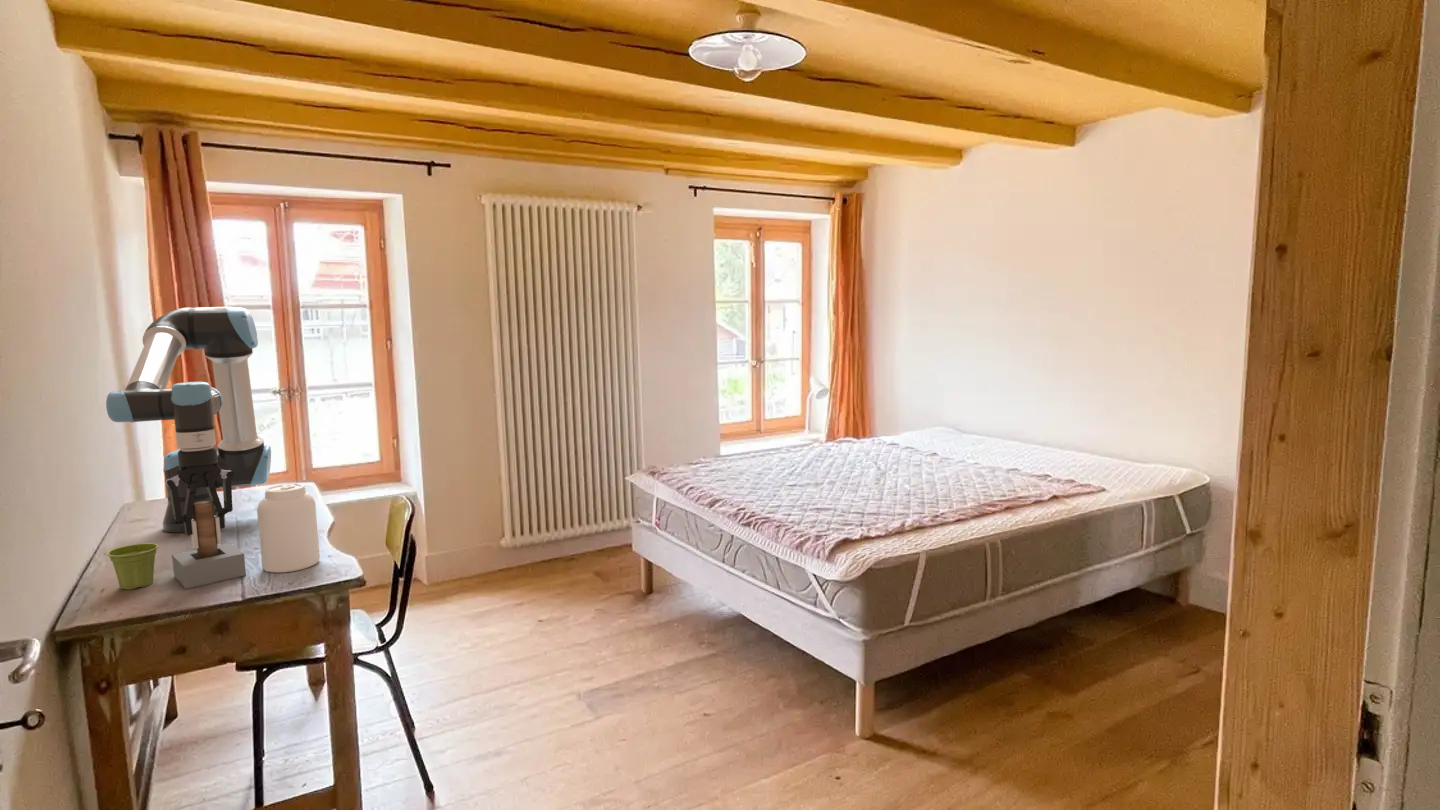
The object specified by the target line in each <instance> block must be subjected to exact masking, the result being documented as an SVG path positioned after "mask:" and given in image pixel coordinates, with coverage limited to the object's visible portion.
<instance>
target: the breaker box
mask: <svg viewBox="0 0 1440 810" xmlns="http://www.w3.org/2000/svg"><path fill="white" fill-rule="evenodd" d="M217 548H218V556H213V557H208V558H203V559H198V553H197V549H194V550H188V551H183V552H178V553H174V554H171V558H172V568H173V569H172V571H173V577H174V578H175V580H177V581H178V582H179V584H180V585H181V586H182V587H183V588H184V589H185V590H190V589H194V588H198V587H203V586H207V585H210V584H215V583H220V582H225V581H229V580H232V579H237V578H242V577H246V576H247V571H246V561H245V552H244V551H243V552H242V551H241V550H240V549H239V548H237V546H235V545H233V544H232V543H230V542H229V543H228V542H227V543H223V544H217Z"/></svg>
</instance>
